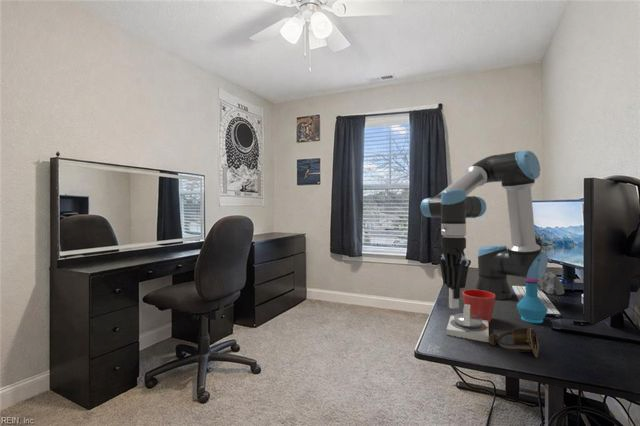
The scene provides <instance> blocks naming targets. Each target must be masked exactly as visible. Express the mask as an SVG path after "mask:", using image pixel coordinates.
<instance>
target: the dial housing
mask: <svg viewBox="0 0 640 426" xmlns="http://www.w3.org/2000/svg"><path fill="white" fill-rule="evenodd" d="M489 329H490V328H489V322H488V321H487V320H482V327H480V328H465V327H461V326H459V325H457V324H455V322H454V315H450V317H449V320H448V324H447V325H446V336H449V335H450V337H455V336H456V338H461V337H462V339H466V338H467V340H473V341H479V342H485V343H489V336H490V334H489Z"/></svg>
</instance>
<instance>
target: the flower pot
mask: <svg viewBox="0 0 640 426" xmlns="http://www.w3.org/2000/svg"><path fill="white" fill-rule="evenodd" d="M461 293H462V298H463V304H467V305H471V314H473V315H476V316H479V317H481V318H482V320H487V321H488V323H491V321H492V317H493V313H494V307H495V303H496V299H495V297H496V296H495V294H493V293H491V292H487V291H483V290H474V289H465V290H463V291H462V292H461Z"/></svg>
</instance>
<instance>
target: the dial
mask: <svg viewBox="0 0 640 426" xmlns="http://www.w3.org/2000/svg"><path fill="white" fill-rule="evenodd" d="M463 304H464V303H463ZM462 312H463V313H462ZM462 312H461V313H455V314H454V315H453V316H454V322H455V324H457V325H459V326H461V327H465V328H480V327H482V318H481V317H479V316H476V315H473V314H471V305H467V304H464V305H463V310H462Z"/></svg>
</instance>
